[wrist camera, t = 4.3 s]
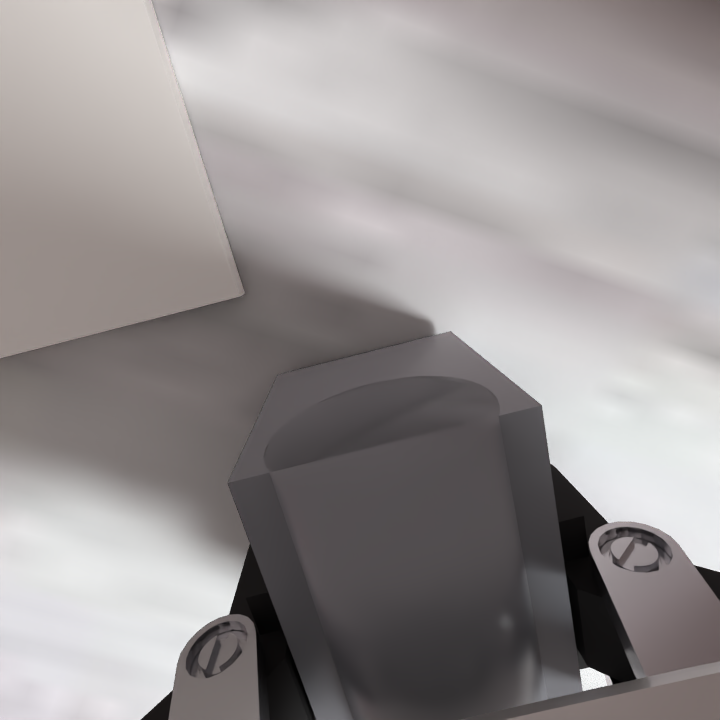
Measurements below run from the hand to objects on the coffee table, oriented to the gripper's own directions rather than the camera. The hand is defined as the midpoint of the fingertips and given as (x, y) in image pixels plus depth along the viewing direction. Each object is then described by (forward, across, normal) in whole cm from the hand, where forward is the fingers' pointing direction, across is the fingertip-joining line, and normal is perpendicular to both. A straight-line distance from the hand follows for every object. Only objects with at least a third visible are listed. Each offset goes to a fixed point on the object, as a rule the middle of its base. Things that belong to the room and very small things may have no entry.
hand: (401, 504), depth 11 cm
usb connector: (+1, 0, +1) cm, 1 cm away
